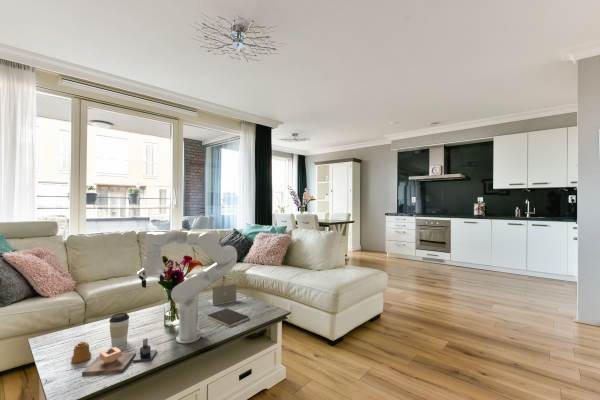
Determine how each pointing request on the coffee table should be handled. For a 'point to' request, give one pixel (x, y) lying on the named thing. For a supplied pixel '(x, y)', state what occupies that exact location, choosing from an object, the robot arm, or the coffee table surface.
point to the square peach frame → (110, 355)
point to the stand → (145, 353)
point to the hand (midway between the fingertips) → (153, 285)
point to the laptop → (223, 294)
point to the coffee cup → (119, 328)
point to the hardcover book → (228, 317)
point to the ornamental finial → (81, 352)
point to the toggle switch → (109, 364)
